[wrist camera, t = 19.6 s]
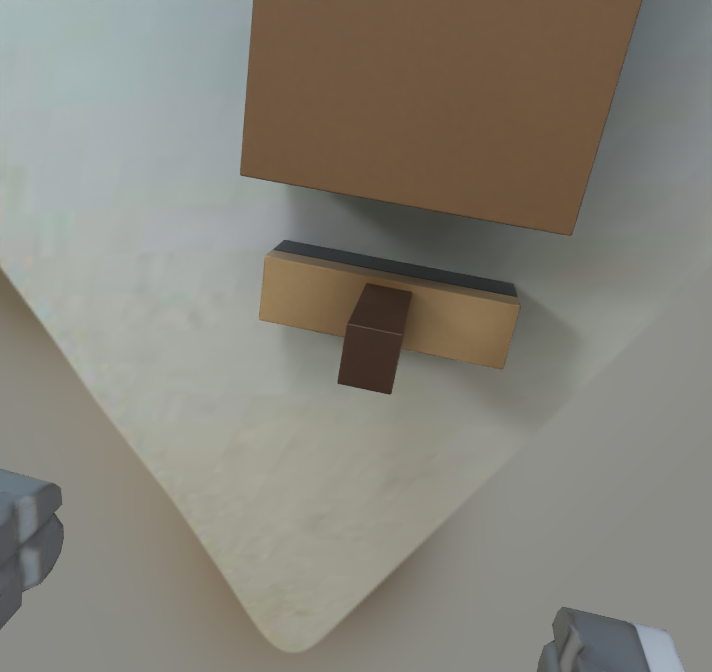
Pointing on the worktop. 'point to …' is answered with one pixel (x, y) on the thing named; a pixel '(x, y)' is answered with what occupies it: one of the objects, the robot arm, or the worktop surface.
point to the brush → (387, 310)
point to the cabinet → (436, 101)
